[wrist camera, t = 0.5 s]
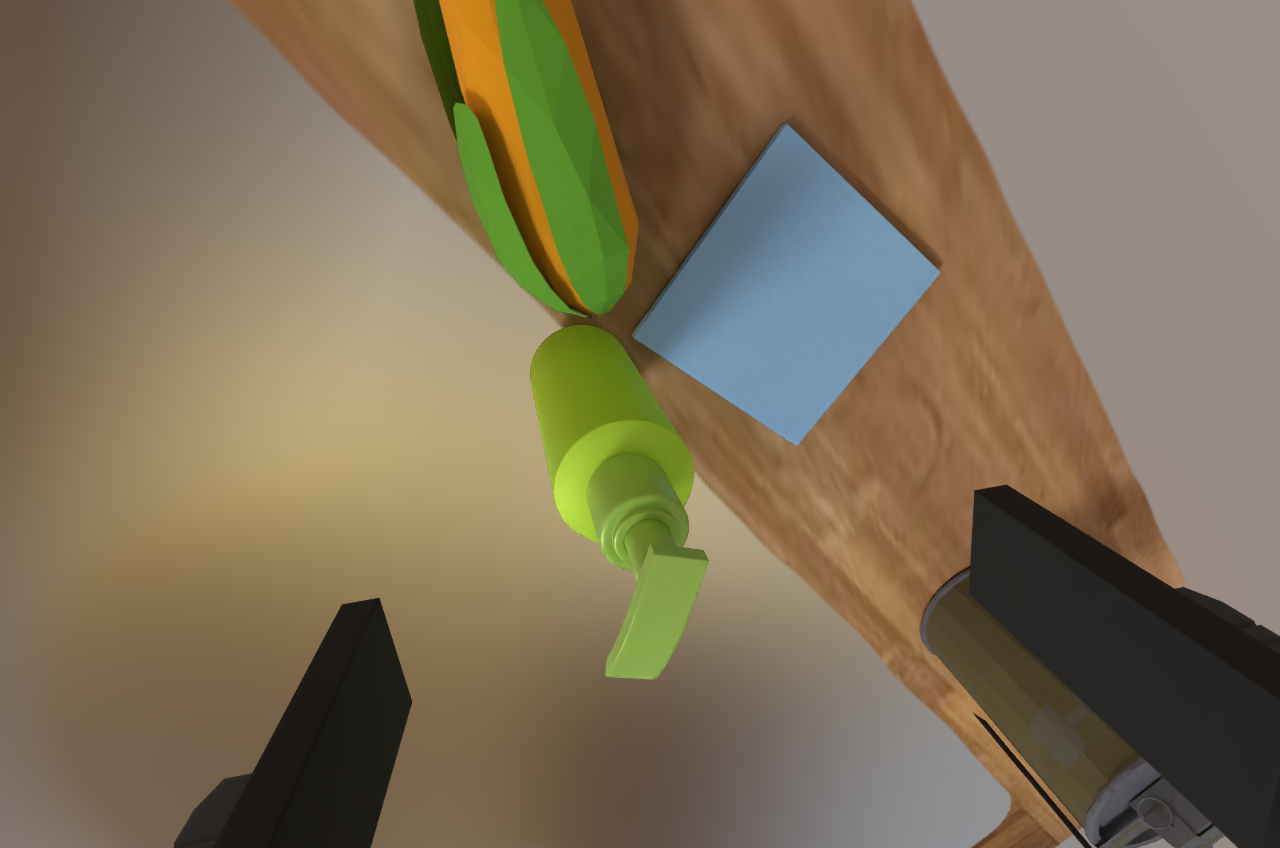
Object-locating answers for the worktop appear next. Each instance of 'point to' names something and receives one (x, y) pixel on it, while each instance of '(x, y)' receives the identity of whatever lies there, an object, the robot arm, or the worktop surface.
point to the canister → (1058, 733)
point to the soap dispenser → (620, 485)
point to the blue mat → (787, 290)
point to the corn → (535, 146)
